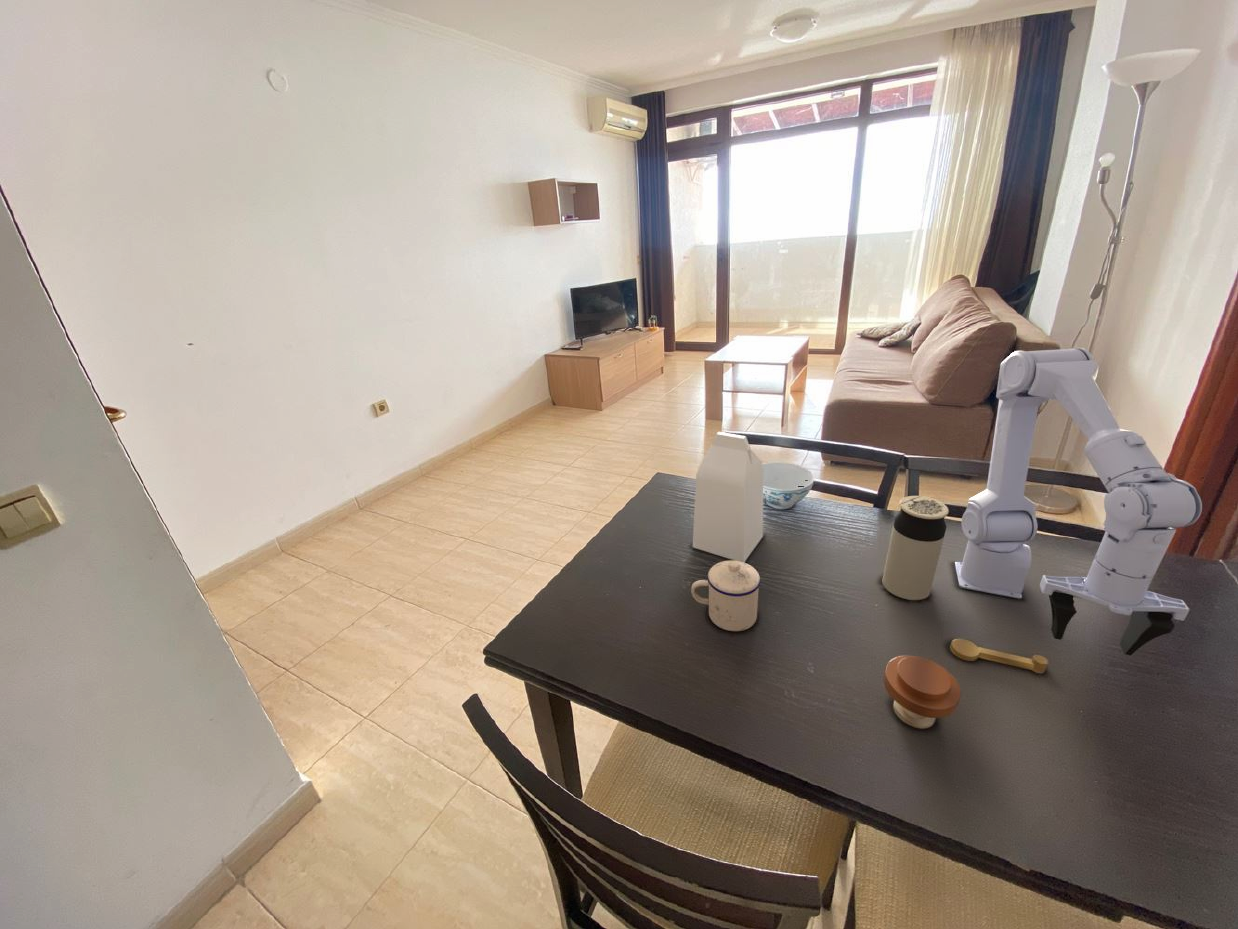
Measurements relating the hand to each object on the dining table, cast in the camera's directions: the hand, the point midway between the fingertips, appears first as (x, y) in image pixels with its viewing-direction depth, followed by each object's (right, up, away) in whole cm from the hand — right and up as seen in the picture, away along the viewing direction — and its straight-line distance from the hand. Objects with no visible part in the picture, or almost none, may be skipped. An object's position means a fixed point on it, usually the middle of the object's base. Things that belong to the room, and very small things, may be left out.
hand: (1089, 642), depth 71 cm
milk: (-43, +8, +41) cm, 60 cm away
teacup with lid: (-48, -2, +21) cm, 52 cm away
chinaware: (-27, +16, +55) cm, 63 cm away
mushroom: (-25, -10, 0) cm, 27 cm away
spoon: (-9, -5, +8) cm, 13 cm away
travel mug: (-13, +2, +24) cm, 27 cm away
